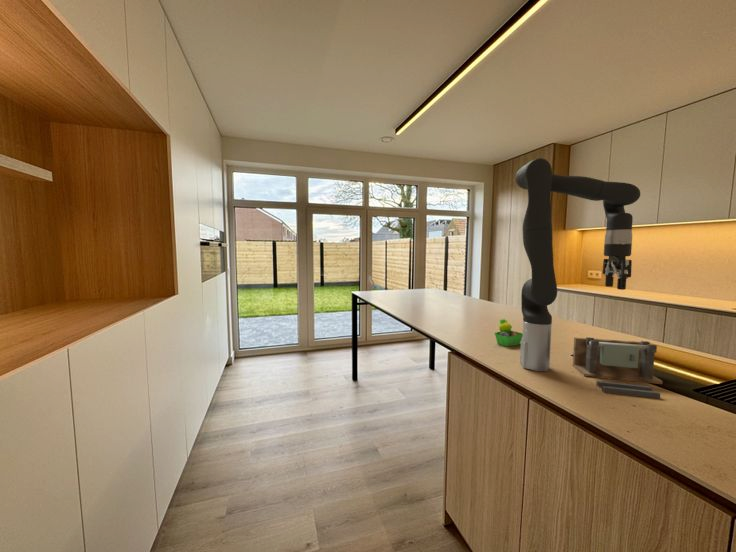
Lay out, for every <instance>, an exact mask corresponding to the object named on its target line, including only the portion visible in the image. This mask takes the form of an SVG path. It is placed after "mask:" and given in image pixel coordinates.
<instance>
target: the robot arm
mask: <svg viewBox="0 0 736 552" xmlns="http://www.w3.org/2000/svg"><path fill="white" fill-rule="evenodd" d="M515 183H516V185H517V186H518V187H519V188H521V189H523V190H527V197H528V199H527V200H528V201H527V206H526V210H525V215H524V217H523V220H522V221H523V222H522V242H523V243H522V245H523V247H524V251H525V253H526V256H527V258H528V261H529V264H530V268H531V278H530V279H528V280H526V281H525V282H524V283H523V285H522V289H521V297H520V298H521V307H520V308H521V313H522V320H523V321H522V333H523V336H522V339H521V342H520V349H519V350H520V356H519V363H520V365H521V367H522V369H526V370H527V369H528V370H531V371H535V372H548V371H550V365H551V343H552V325H553V324H552V323H553V318H552V314H551V313H550V311H549V309H548V308H549V307H548V306H549V305H552V304H553V303H554V302H555V300H556V299H557V297H558V286H557V281H556V279H557V278H556V275H555V274H556V272H555V269H554V268H555V267H554V251H553V250H554V247H553V224H552V222H553V221H552V206H551V205H552V198H551V197H552V193H557V194H562V195H563V194H564V195H568V196H572V197H577V198H581V199H584V200H589V201H595V202H597V201H602V205H603V210H604V214H605V218H606V226H605V235H604V244H603V256H604V257H608V258H604V259H603V263H602V271H601V272H602V275H604V277H605V281H604V282H605V283H604V286H605V287H609V288H611V287H612V288H613V286H614V278H615V277H614V276H615V275H616V276H617V284H616V288H617V290H622V291H624V290H626V288H627V287H626V286H627V279H628V278H631V277H632V259H626V257H630V256H631V255H632V247H633V223H634V221H633V220H634V219H633V214H631V213H628V212H626V209H625V206H628V205H629V206H630V205H633V204H634V203H636V202H638V200H640V199H639V198H640V197H641V190H640V188H639V187H638V186H637V185H635V184H632V183H629V182H618V181H604V180H602V179H597V178H594V177H587V176H581V175H560V174H555V173H553V168H552V165H551V163H550V162H549V161H548V160H547V159H545V158H543V157H539V158H538V157H537V158H535V159H531V161H529V162H528V163H526V164H525V165H523V166H521V167H520V168H519V169H518V171H516V173H515ZM631 257H632V256H631Z"/></svg>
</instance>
